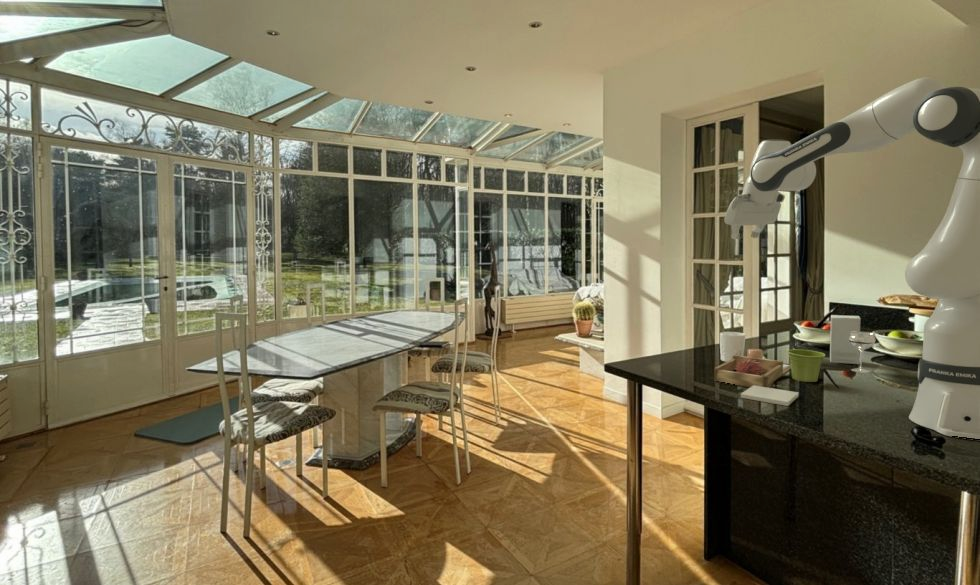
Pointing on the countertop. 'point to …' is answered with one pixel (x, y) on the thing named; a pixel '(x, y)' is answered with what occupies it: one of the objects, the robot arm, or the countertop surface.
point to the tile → (770, 395)
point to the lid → (786, 367)
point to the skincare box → (843, 339)
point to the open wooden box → (771, 371)
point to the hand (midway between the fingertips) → (744, 238)
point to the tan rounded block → (755, 353)
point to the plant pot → (805, 364)
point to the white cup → (731, 345)
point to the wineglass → (861, 344)
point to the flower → (749, 367)
